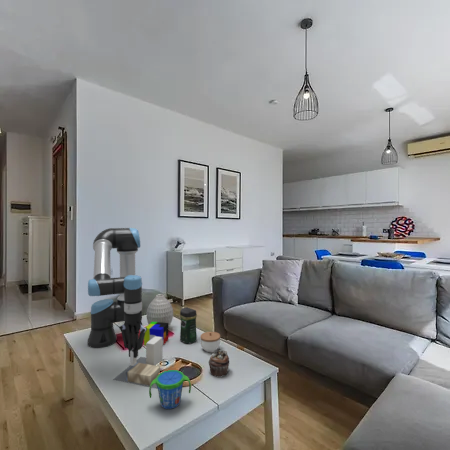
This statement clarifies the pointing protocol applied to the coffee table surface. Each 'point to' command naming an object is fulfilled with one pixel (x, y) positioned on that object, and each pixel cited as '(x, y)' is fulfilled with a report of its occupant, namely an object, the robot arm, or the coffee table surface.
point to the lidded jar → (210, 341)
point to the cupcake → (219, 363)
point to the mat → (122, 375)
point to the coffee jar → (188, 325)
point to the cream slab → (154, 350)
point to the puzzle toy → (156, 331)
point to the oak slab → (142, 373)
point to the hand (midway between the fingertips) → (133, 364)
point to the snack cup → (170, 387)
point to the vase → (160, 310)
